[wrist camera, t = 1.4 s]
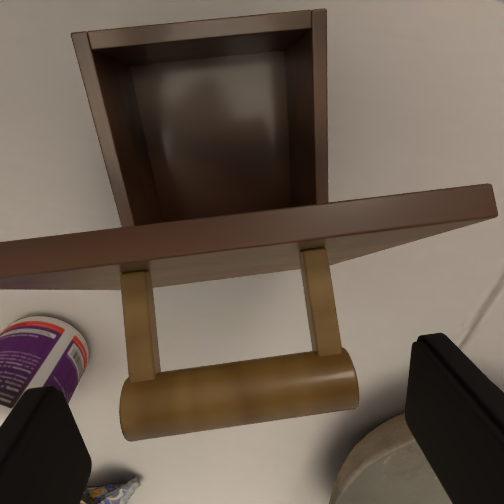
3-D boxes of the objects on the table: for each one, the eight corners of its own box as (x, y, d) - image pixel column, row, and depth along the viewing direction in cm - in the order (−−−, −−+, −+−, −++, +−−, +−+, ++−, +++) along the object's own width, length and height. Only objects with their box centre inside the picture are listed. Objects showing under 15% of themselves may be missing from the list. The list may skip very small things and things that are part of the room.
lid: (-83, 251, 7) (-77, 514, 7) (492, 182, 8) (543, 421, 7) (133, 277, 22) (141, 361, 21) (330, 252, 22) (342, 334, 22)
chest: (118, 55, 25) (69, 32, 17) (292, 38, 25) (327, 7, 17) (158, 233, 30) (135, 280, 22) (300, 215, 31) (329, 255, 23)
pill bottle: (-14, 346, 33) (-167, 507, 20) (38, 295, 31) (-92, 434, 18) (59, 390, 36) (-34, 556, 23) (109, 345, 34) (42, 497, 21)
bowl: (490, 323, 37) (559, 378, 30) (536, 462, 48) (595, 529, 41) (271, 428, 41) (283, 502, 33) (359, 536, 52) (383, 610, 44)
